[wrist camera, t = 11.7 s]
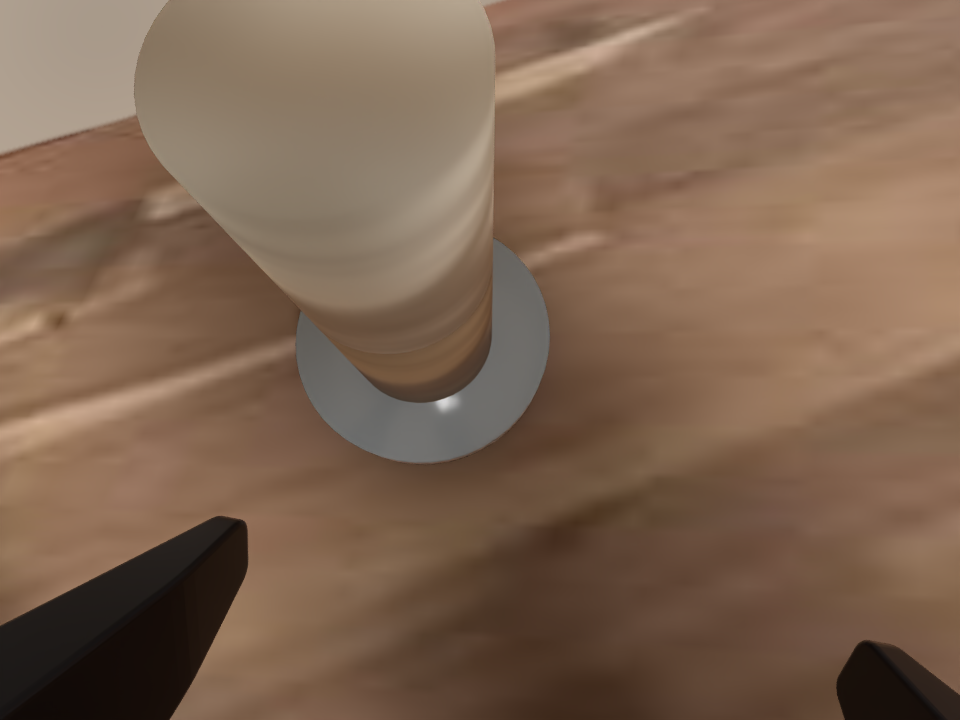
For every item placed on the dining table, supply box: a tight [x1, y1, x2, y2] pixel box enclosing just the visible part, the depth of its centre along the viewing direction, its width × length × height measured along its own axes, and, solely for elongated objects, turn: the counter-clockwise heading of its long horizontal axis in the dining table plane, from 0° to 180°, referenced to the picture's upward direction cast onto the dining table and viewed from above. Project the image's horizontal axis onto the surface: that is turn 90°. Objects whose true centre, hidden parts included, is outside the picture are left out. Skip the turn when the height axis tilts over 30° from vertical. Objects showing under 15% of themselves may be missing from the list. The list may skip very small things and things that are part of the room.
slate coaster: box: [296, 238, 550, 465], centre depth 21 cm, size 10×10×2 cm
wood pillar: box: [134, 0, 495, 403], centre depth 14 cm, size 6×6×13 cm
